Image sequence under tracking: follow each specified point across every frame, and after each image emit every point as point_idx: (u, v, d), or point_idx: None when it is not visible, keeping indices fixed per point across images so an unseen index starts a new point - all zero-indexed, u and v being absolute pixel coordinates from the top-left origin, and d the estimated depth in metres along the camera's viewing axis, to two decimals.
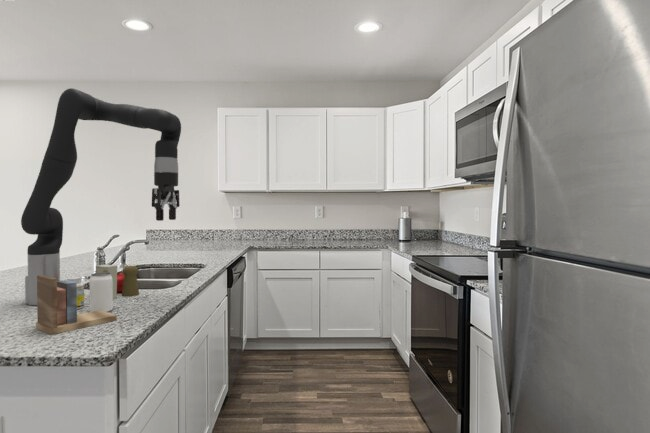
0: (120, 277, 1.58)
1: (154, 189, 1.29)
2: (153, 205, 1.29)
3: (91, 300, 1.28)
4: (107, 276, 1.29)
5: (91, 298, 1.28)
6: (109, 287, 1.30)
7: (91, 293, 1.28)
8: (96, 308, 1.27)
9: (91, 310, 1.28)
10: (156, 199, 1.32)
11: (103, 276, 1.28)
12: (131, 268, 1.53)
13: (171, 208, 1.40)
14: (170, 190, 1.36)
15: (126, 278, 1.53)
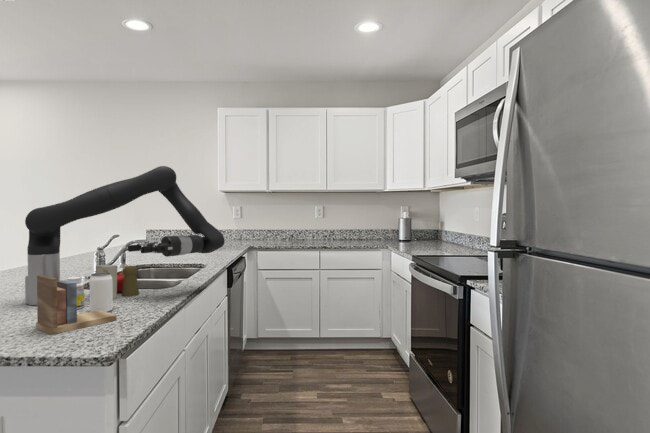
0: (120, 277, 1.58)
1: (172, 246, 1.43)
2: (159, 247, 1.39)
3: (91, 300, 1.28)
4: (107, 276, 1.29)
5: (91, 298, 1.28)
6: (109, 287, 1.30)
7: (91, 293, 1.28)
8: (96, 308, 1.27)
9: (91, 310, 1.28)
10: (159, 244, 1.42)
11: (103, 276, 1.28)
12: (131, 268, 1.53)
13: (139, 247, 1.45)
14: None
15: (126, 278, 1.53)
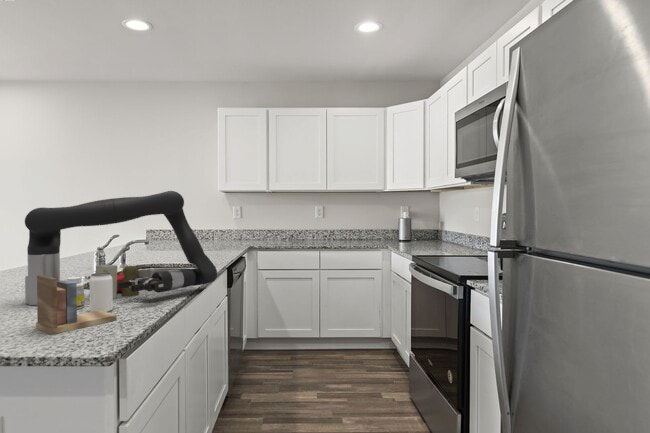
0: (120, 277, 1.58)
1: (162, 283, 1.41)
2: (149, 285, 1.36)
3: (91, 300, 1.28)
4: (107, 276, 1.29)
5: (91, 298, 1.28)
6: (109, 287, 1.30)
7: (91, 293, 1.28)
8: (96, 308, 1.27)
9: (91, 310, 1.28)
10: (149, 281, 1.40)
11: (103, 276, 1.28)
12: (131, 268, 1.53)
13: (129, 283, 1.42)
14: None
15: (126, 278, 1.53)
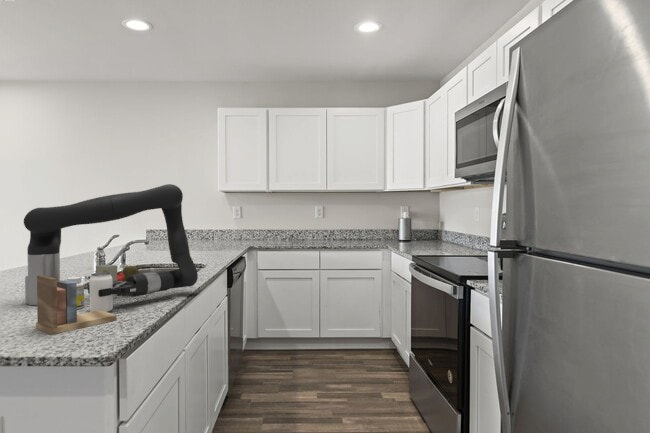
0: (120, 277, 1.58)
1: (135, 288, 1.32)
2: (118, 290, 1.29)
3: (91, 300, 1.28)
4: (107, 276, 1.29)
5: (91, 298, 1.28)
6: (109, 287, 1.29)
7: (91, 293, 1.28)
8: (96, 308, 1.27)
9: (91, 310, 1.28)
10: (120, 285, 1.32)
11: (103, 276, 1.28)
12: (131, 268, 1.53)
13: None
14: None
15: (126, 278, 1.53)
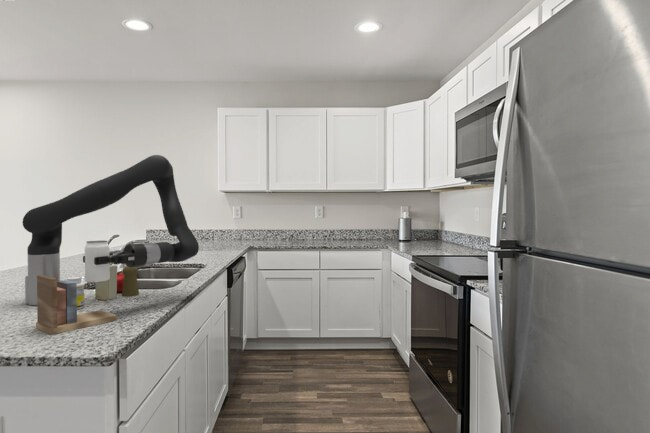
0: (120, 277, 1.58)
1: (133, 256, 1.24)
2: (116, 257, 1.20)
3: (87, 269, 1.19)
4: (103, 243, 1.21)
5: (87, 266, 1.19)
6: (106, 255, 1.21)
7: (86, 261, 1.19)
8: (92, 277, 1.19)
9: (87, 279, 1.20)
10: (118, 253, 1.24)
11: (99, 243, 1.20)
12: (131, 268, 1.53)
13: None
14: None
15: (126, 278, 1.53)
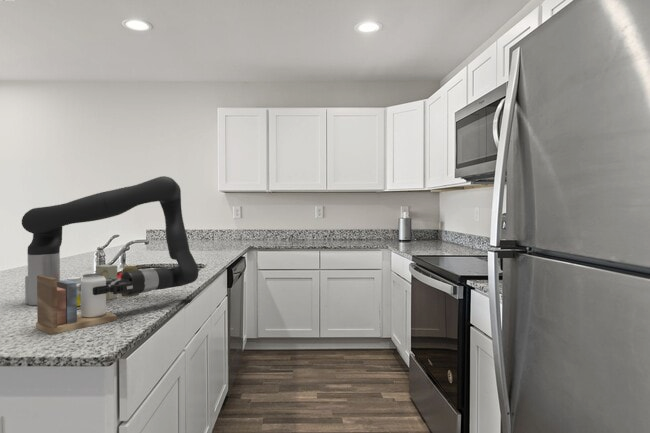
0: (120, 277, 1.58)
1: (132, 285, 1.22)
2: (115, 287, 1.18)
3: (82, 303, 1.17)
4: (100, 277, 1.19)
5: (82, 301, 1.17)
6: None
7: (82, 296, 1.17)
8: (88, 312, 1.17)
9: (82, 314, 1.17)
10: (116, 282, 1.21)
11: (95, 277, 1.18)
12: (131, 268, 1.53)
13: None
14: None
15: None
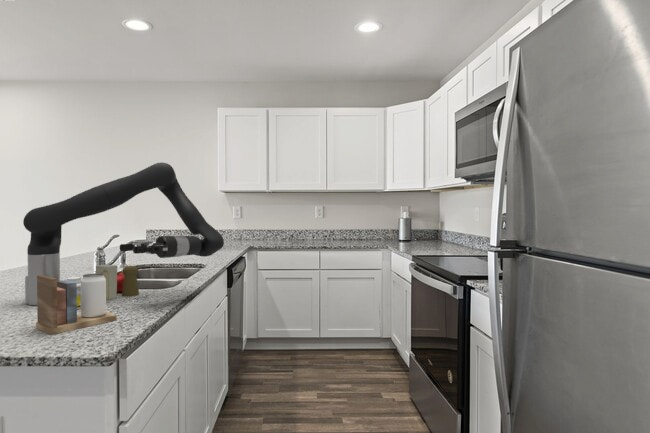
0: (120, 277, 1.58)
1: (167, 247, 1.33)
2: (153, 247, 1.29)
3: (82, 303, 1.17)
4: (100, 277, 1.19)
5: (82, 301, 1.17)
6: (102, 289, 1.19)
7: (82, 296, 1.17)
8: (88, 312, 1.17)
9: (82, 314, 1.17)
10: (153, 244, 1.33)
11: (95, 277, 1.18)
12: (131, 268, 1.53)
13: (132, 246, 1.35)
14: None
15: (126, 278, 1.53)
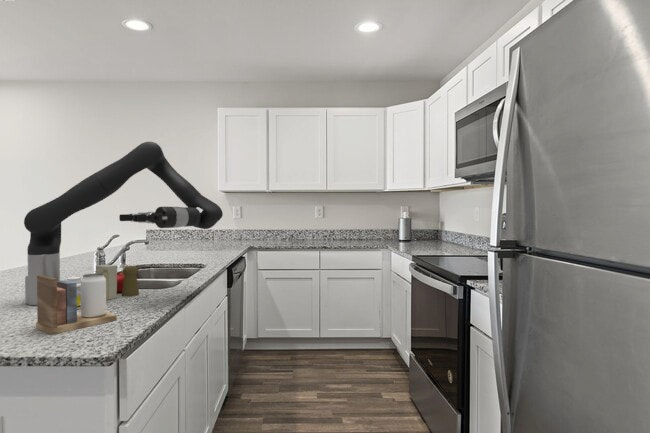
0: (120, 277, 1.58)
1: (166, 216, 1.34)
2: (152, 216, 1.30)
3: (82, 303, 1.17)
4: (100, 277, 1.19)
5: (82, 301, 1.17)
6: (102, 289, 1.19)
7: (82, 296, 1.17)
8: (88, 312, 1.17)
9: (82, 314, 1.17)
10: (152, 213, 1.34)
11: (95, 277, 1.18)
12: (131, 268, 1.53)
13: (131, 217, 1.36)
14: None
15: (126, 278, 1.53)
